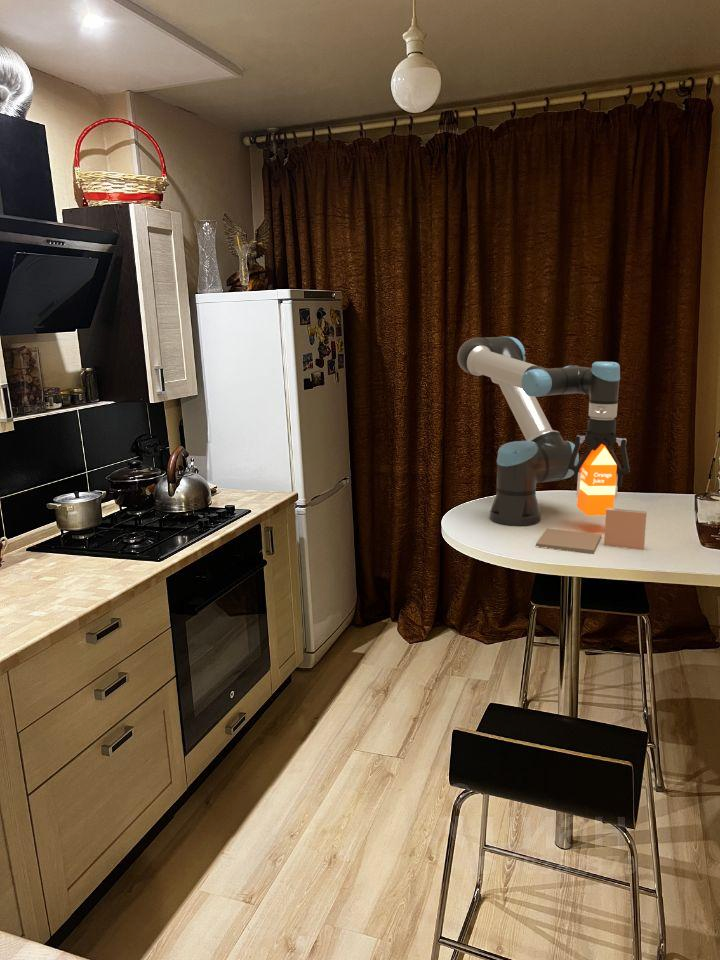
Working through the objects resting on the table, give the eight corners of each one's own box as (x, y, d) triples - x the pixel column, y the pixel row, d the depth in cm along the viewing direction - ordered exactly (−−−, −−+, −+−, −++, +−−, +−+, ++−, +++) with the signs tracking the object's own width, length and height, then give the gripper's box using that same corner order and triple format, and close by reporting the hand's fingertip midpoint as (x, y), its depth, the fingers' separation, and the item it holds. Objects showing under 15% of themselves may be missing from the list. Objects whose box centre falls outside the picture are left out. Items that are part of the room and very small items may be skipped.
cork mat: (535, 546, 196) (535, 543, 196) (546, 531, 209) (547, 528, 209) (593, 553, 190) (593, 550, 190) (601, 537, 203) (601, 534, 203)
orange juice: (585, 515, 206) (591, 445, 201) (576, 506, 214) (581, 439, 210) (613, 515, 206) (619, 445, 201) (602, 506, 214) (608, 439, 210)
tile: (603, 545, 197) (606, 509, 195) (604, 543, 199) (607, 507, 196) (643, 549, 193) (646, 513, 190) (644, 547, 194) (646, 511, 192)
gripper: (559, 417, 205) (555, 494, 210) (643, 422, 196) (636, 502, 201) (564, 413, 211) (559, 488, 217) (645, 418, 202) (638, 496, 208)
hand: (596, 495), depth 209 cm, fingers closed on orange juice, 9 cm apart
